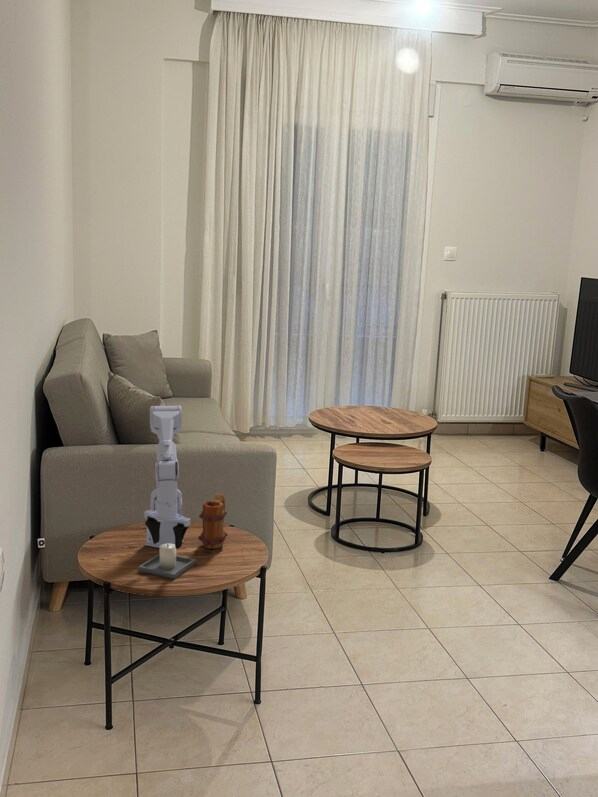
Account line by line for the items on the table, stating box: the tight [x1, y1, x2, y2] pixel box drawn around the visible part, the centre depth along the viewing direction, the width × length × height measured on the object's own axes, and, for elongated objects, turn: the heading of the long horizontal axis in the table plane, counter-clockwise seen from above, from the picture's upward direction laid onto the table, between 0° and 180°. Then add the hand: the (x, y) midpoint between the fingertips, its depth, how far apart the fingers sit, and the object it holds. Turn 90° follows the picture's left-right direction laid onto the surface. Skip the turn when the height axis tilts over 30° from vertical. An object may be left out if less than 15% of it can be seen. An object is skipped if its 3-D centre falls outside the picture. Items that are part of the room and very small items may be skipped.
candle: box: [159, 543, 177, 569], centre depth 236 cm, size 5×5×7 cm
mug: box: [198, 493, 228, 550], centre depth 254 cm, size 15×8×15 cm, turn 168°
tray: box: [137, 552, 197, 581], centre depth 236 cm, size 12×12×2 cm
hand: (167, 545), depth 235 cm, fingers open, 7 cm apart
